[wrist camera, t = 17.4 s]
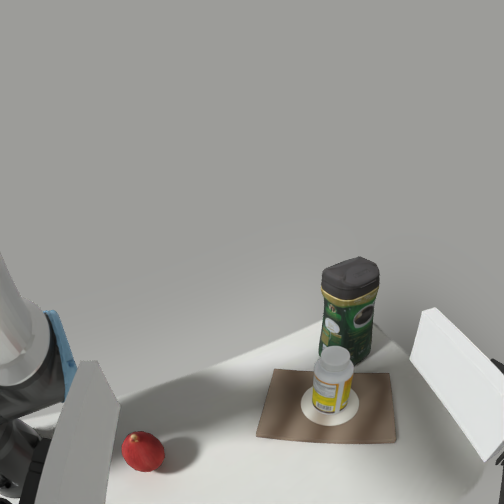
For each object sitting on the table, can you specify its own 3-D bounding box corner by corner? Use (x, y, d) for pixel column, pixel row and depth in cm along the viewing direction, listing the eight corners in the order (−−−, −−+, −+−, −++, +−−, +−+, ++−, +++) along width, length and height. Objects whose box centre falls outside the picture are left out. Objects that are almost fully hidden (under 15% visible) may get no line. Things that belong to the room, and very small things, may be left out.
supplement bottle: (341, 386, 45) (348, 338, 41) (352, 411, 40) (362, 364, 36) (307, 393, 45) (310, 345, 41) (316, 419, 39) (321, 372, 35)
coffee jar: (347, 334, 59) (355, 248, 52) (376, 353, 53) (390, 263, 45) (310, 354, 55) (312, 264, 48) (338, 377, 48) (348, 283, 41)
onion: (127, 457, 35) (105, 427, 32) (159, 443, 38) (143, 411, 35) (142, 486, 30) (120, 459, 27) (178, 470, 33) (161, 441, 30)
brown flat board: (256, 436, 39) (255, 432, 38) (274, 372, 51) (274, 367, 51) (394, 443, 34) (396, 438, 34) (388, 377, 46) (389, 372, 46)
